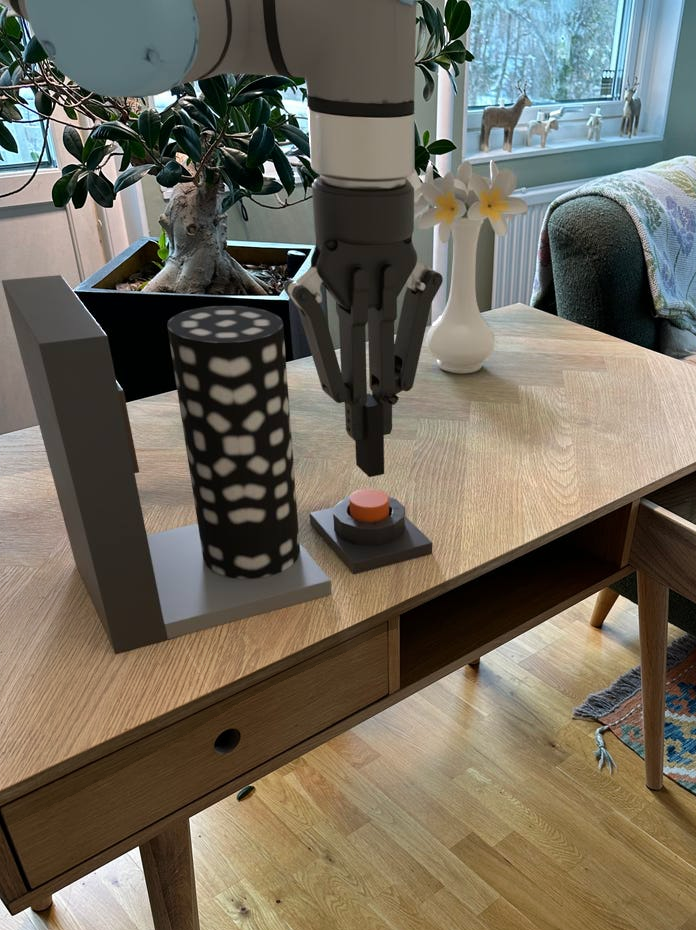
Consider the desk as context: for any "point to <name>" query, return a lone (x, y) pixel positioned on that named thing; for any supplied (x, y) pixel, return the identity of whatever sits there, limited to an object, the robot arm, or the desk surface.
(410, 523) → the pad
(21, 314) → the grey l-shaped bookend
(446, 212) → the flower vase
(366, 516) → the button
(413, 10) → the robot arm
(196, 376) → the white-spotted black cylinder
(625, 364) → the desk surface
